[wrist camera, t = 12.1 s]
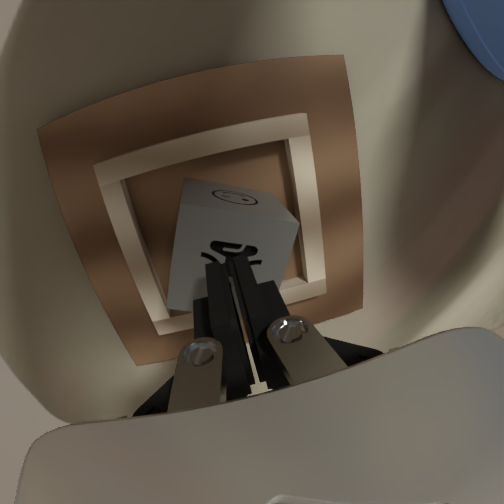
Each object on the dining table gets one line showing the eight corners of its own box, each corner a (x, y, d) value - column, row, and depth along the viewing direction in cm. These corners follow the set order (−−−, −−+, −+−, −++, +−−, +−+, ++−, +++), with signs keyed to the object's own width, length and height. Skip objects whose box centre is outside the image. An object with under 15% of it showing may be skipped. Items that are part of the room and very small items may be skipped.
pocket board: (44, 127, 14) (28, 130, 12) (336, 57, 15) (351, 52, 13) (137, 356, 22) (135, 375, 20) (357, 301, 23) (368, 315, 22)
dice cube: (272, 193, 17) (299, 223, 13) (252, 270, 19) (269, 318, 15) (184, 177, 16) (180, 203, 12) (171, 259, 18) (166, 308, 14)
